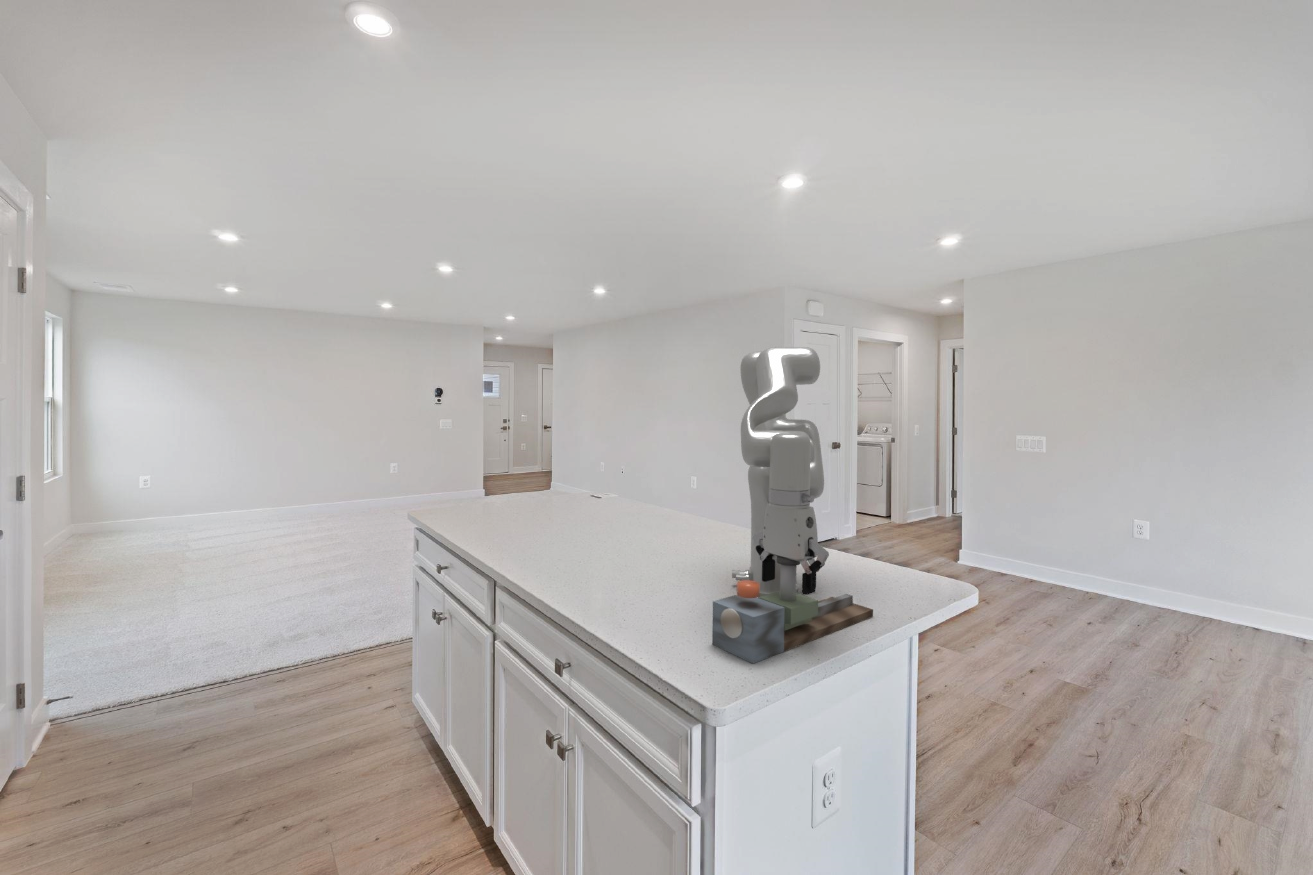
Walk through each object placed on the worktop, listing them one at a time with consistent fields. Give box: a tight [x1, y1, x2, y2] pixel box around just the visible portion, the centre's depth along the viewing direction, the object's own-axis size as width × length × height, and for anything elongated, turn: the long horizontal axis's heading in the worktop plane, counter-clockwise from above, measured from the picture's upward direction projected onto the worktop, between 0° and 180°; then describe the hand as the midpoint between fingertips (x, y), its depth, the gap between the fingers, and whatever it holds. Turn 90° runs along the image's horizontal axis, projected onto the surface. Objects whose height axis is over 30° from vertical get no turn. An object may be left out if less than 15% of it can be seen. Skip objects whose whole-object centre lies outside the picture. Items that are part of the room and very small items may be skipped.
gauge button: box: [736, 580, 760, 598], centre depth 102 cm, size 4×4×2 cm
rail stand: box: [711, 593, 874, 664], centre depth 111 cm, size 37×10×8 cm, turn 128°
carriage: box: [757, 556, 819, 631], centre depth 109 cm, size 8×8×13 cm
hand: (787, 586), depth 109 cm, fingers open, 9 cm apart
